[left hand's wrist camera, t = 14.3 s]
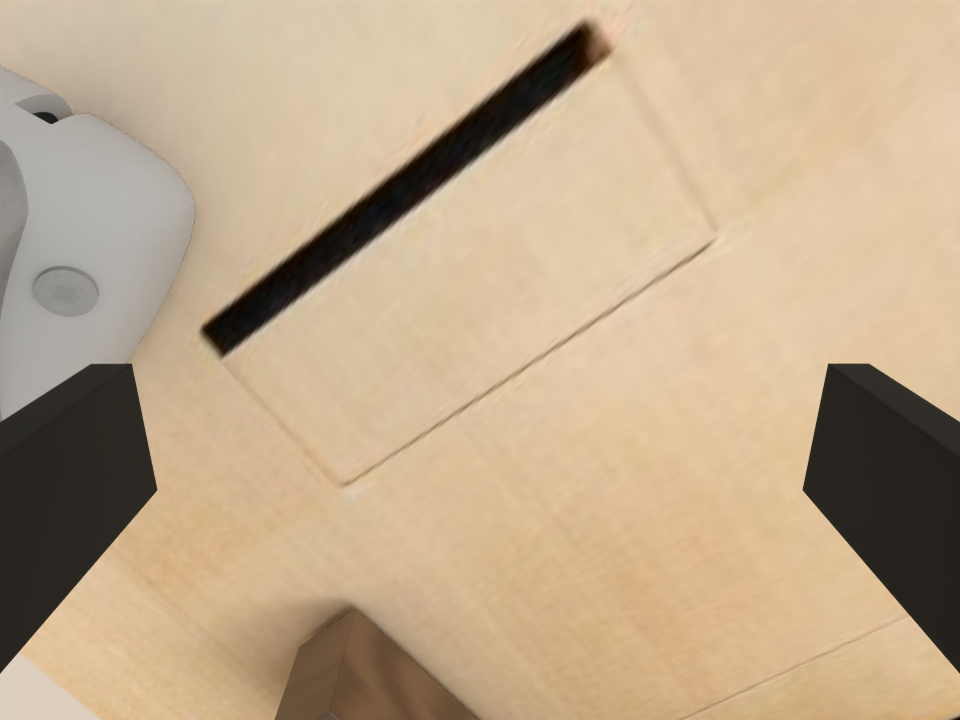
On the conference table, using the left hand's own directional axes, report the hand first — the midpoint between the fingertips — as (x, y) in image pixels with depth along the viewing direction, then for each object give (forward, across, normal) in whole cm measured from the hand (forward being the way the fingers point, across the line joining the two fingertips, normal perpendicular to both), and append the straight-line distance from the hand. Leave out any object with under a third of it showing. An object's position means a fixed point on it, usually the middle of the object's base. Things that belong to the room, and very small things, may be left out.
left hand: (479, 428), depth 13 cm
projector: (+31, -28, -4) cm, 42 cm away
